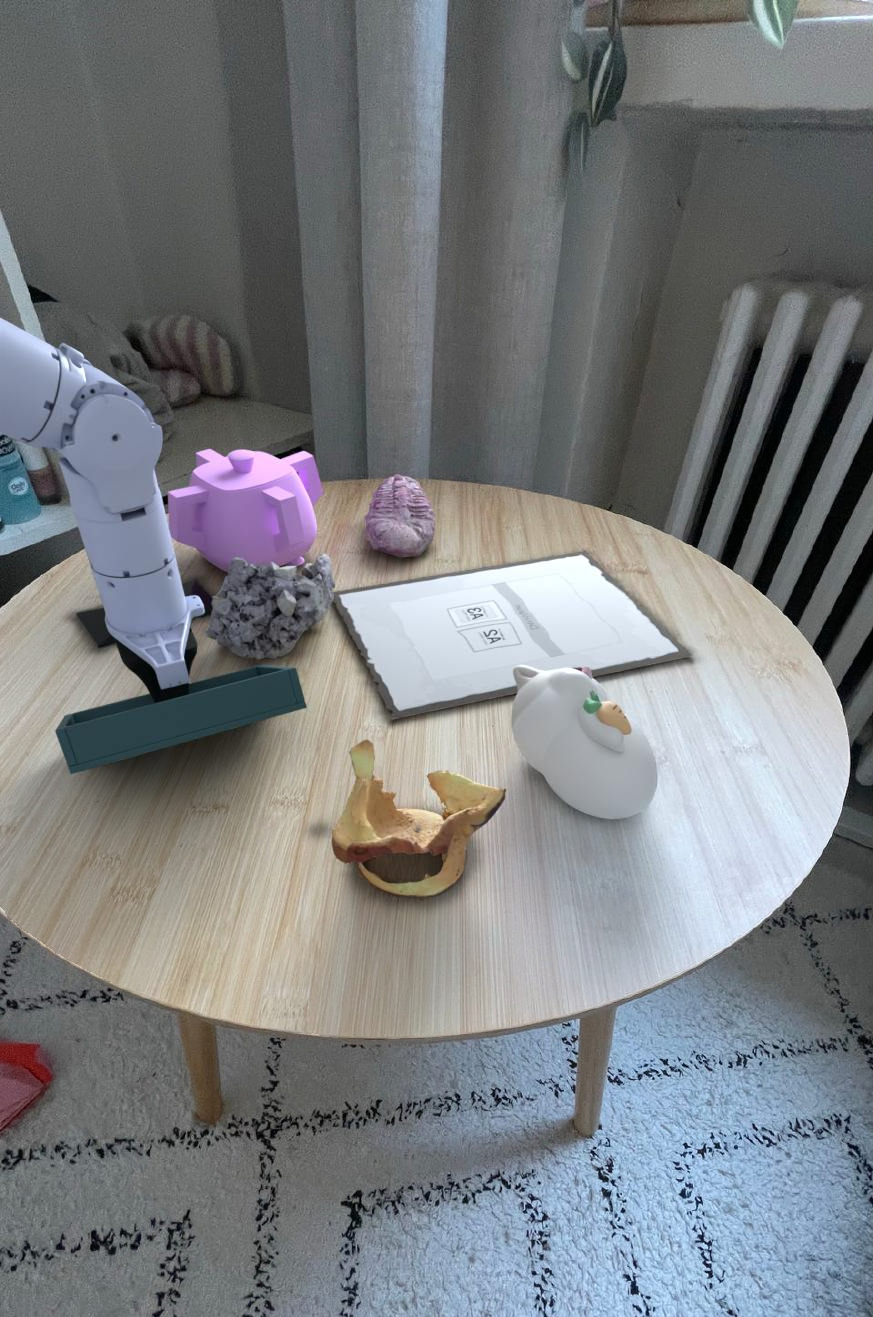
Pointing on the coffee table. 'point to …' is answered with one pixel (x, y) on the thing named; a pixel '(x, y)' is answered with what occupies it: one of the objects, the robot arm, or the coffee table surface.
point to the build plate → (96, 616)
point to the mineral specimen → (269, 606)
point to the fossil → (400, 518)
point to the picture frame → (497, 630)
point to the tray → (177, 716)
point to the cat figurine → (582, 742)
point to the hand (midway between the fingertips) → (174, 709)
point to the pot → (248, 508)
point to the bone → (411, 824)
